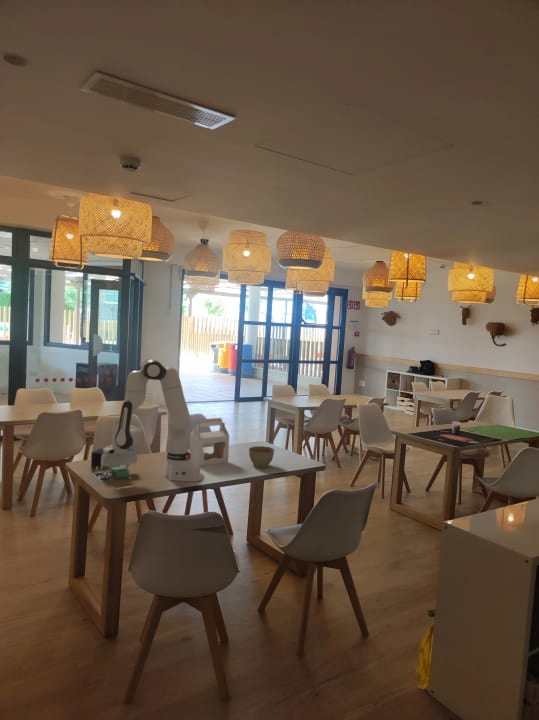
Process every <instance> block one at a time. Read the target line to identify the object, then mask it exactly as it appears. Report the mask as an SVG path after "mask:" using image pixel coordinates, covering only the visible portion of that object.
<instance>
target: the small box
mask: <svg viewBox="0 0 539 720" xmlns="http://www.w3.org/2000/svg"><path fill="white" fill-rule="evenodd" d="M103 449H104V448H99V449H96V450H94V451H92V452H91V461H90V462H91V464H90V465H91V466H90V468H91V469H95V470H96V467H97V466H98V470H101V466H102V465H101V457H102V454H103V453H104V452H103ZM104 468H105V467H103V466H102V469H104Z"/></svg>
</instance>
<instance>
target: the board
mask: <svg viewBox="0 0 539 720" xmlns="http://www.w3.org/2000/svg"><path fill="white" fill-rule="evenodd" d="M111 469H112V470H114V473H113V475H115V476H116V477H117V478H119V477H126V476H130V470H129V469H128V470H127V469H126V467H124V465H116V466H112V468H111ZM108 471H109V472H110V469H109V468H108Z"/></svg>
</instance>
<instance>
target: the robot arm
mask: <svg viewBox="0 0 539 720" xmlns="http://www.w3.org/2000/svg"><path fill="white" fill-rule="evenodd" d="M149 380H153V381H159V382H160V386H161V390H162V394H163V398H164V403H165V405H166V410H167V412H168V415H167V428H168V430H167V431H168V432H167V433H168V445H167V446H168V448H167V449H168V450H167V454H166V461H167V464H166V469H165V473H164V477H165V478H167V479H168V480H169V481H178V482H199V481H200V480H202V479H204V477H205V475H204V473H202V472H201V466H199V465H198V464H196V463H195V462H194V461H193V460H192V459H191V453H189V451H188V449H189V447H188V446H189V436H188V435H189V434H188V429H189V427H190V426H191V422H192V419H191V415H190V411H189V408H188V405H187V402H186V399H185V395H184V390H183V386H182V382H181V379H180V375H179V374H178V371H177V369H176V368H175V367H171V366H168V367H164V366H163V365H162V363H161V362H160V361H159V360H158V359H156V358H147V359H146V360H145V361H144V362H143V363H142V364H141V366H140V367H139V369H138V370H132V371H131V372H129V374H128V375H127V379H126V386H125V393H124V400H123V404H122V405H121V410H120V416H119V420H117V421H114V422H113V425H112V430H111V431H112V432H111V433H112V434H111V438H112V441H111V444H110V445H109V446H106V447H104V448H102V449H103V452H104V453H103V454H102V457H101V465H102V466H103V467H104V468H107V467H108V470H109V469H110V473H111V474H113V473H114V470H112V469H111V468H112V466H116V465H121V466H124V465H126V466H125V468H126V469H127V470H129V467H130V464H136V463H137V462H138V449H137V448H136V447H135V446H136V445H138V444H140V443H142V442H143V440H145V439H144V438H145V435H144V431H143V430H142V429H141V428H140V427H137V426H135V425H133V424H132V419H133V415H134V413H135V412H136V410H138V409H139V408H140V407H141V406H142V405H144V403H145V401H146V397H147V384H148V381H149Z"/></svg>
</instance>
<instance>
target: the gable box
mask: <svg viewBox="0 0 539 720" xmlns="http://www.w3.org/2000/svg"><path fill="white" fill-rule="evenodd" d="M225 424H226V422H223V420H222V418H221V417H218V418H217V417H216V418H204V419H203V418H201V419H198V423H196V424H195V425H194V427H193V429H192V431H191V432H190V433H189V443H188V446H189V447H188V449H189V451H188V452H189V453H191V459H192V460H193V461H194V462H195V463H196V464H198V465H199V467H202V466H208V465H209V466H211V465H218V464H224V463H225V464H226V463H229V453H230V452H229V451H230V447H229V446H230V434H229V432H228V430H227V428H226V425H225ZM212 426H213V427H214V426H219V429H218V430H216V431H215V430H213V431H205V432H204V431H203V432H200V428H202V427H212ZM208 443H210V444H211V443H214V444H213V452H212V453H208V452H205V451H204V445H205V444H208Z"/></svg>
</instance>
